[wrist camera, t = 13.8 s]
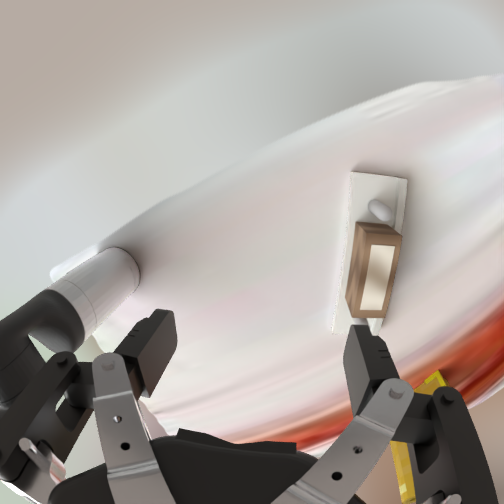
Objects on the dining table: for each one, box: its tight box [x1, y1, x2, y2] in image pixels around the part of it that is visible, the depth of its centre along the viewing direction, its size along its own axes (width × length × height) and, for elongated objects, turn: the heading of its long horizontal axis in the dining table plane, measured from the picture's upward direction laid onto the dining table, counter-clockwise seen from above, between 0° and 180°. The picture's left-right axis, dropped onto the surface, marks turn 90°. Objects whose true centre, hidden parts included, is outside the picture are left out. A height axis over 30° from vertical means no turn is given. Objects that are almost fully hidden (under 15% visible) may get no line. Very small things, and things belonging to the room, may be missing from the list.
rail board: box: [331, 172, 408, 336], centre depth 38 cm, size 8×26×6 cm, turn 179°
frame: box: [345, 222, 402, 318], centre depth 37 cm, size 12×5×6 cm, turn 179°
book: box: [390, 370, 450, 504], centre depth 38 cm, size 17×7×25 cm, turn 139°
